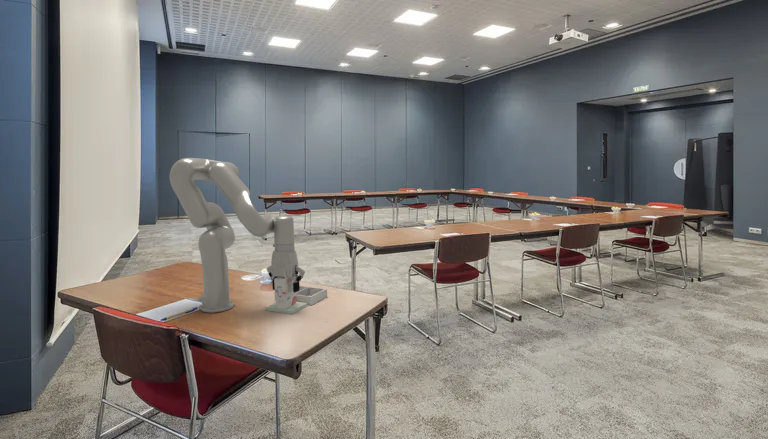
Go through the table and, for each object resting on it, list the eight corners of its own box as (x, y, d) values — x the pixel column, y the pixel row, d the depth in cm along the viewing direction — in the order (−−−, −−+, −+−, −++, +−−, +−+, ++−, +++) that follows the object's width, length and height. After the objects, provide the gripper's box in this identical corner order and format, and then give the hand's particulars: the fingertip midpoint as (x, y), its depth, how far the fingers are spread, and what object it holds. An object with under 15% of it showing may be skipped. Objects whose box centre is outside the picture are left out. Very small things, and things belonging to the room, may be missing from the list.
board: (266, 310, 168) (266, 307, 168) (282, 302, 178) (282, 299, 178) (291, 314, 163) (291, 311, 163) (307, 306, 173) (307, 303, 173)
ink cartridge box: (284, 301, 175) (283, 266, 173) (296, 302, 174) (295, 266, 172) (274, 308, 167) (273, 271, 165) (286, 309, 166) (285, 271, 164)
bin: (274, 300, 181) (274, 292, 180) (292, 292, 192) (292, 284, 192) (310, 305, 174) (310, 297, 173) (327, 296, 185) (327, 288, 185)
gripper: (260, 247, 168) (262, 290, 170) (297, 250, 161) (298, 295, 163) (272, 244, 174) (274, 285, 176) (308, 247, 167) (310, 290, 170)
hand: (286, 290), depth 170 cm, fingers open, 9 cm apart
